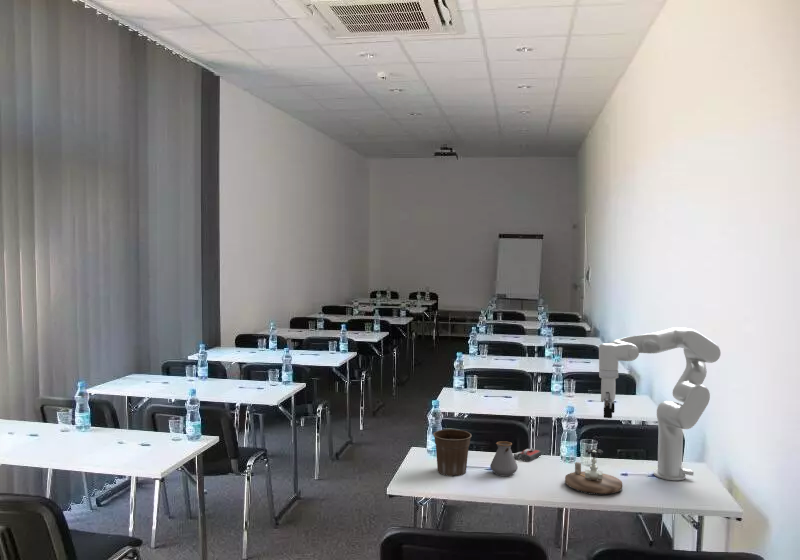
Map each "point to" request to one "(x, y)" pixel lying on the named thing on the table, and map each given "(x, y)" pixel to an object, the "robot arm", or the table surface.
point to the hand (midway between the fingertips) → (609, 415)
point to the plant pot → (452, 451)
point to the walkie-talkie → (528, 454)
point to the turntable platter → (592, 482)
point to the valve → (593, 466)
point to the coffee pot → (504, 460)
